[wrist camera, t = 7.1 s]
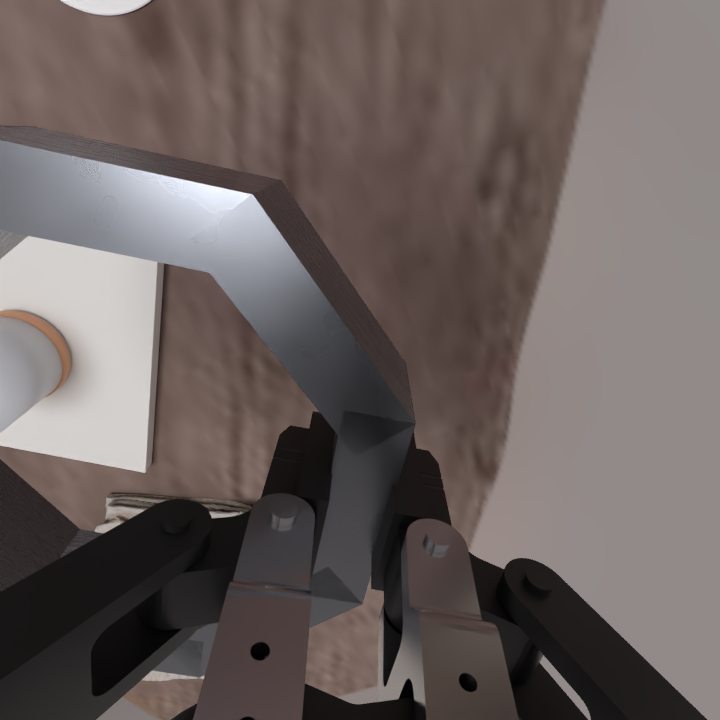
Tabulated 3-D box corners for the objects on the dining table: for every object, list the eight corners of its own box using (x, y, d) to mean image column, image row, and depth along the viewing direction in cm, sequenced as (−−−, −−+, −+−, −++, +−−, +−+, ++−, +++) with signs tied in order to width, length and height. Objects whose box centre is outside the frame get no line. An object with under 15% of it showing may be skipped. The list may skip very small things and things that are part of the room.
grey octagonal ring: (-148, 86, 10) (-332, 68, 8) (445, 215, 11) (469, 241, 9) (-60, 541, 16) (-150, 626, 13) (340, 605, 17) (334, 697, 14)
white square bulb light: (-107, 195, 26) (-235, 211, 20) (164, 256, 27) (112, 287, 21) (-71, 421, 31) (-164, 481, 26) (151, 463, 32) (107, 529, 27)
